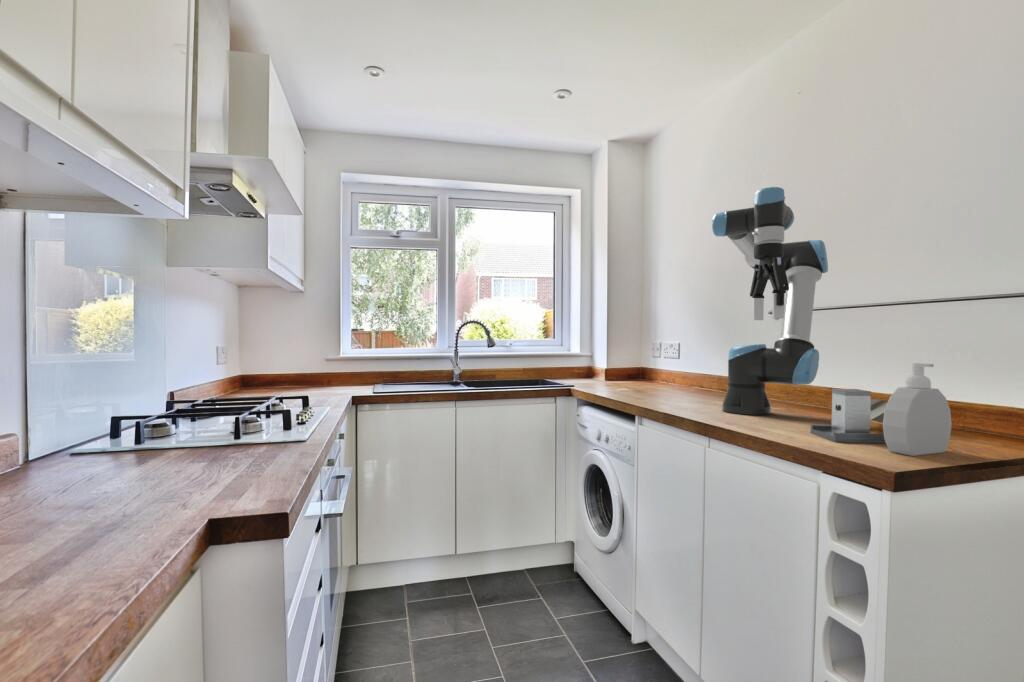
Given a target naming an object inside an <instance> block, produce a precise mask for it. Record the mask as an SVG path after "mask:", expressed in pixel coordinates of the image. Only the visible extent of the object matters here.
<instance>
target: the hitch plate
mask: <svg viewBox="0 0 1024 682" xmlns="http://www.w3.org/2000/svg"><path fill="white" fill-rule="evenodd" d="M810 434H813V435H815V436H818V437H821V438H824V439H825V440H828V441H832V442H834V443H849V444H850V443H856V444H857V443H859V444H886V442H885V439H884V431H883V423H881V422H877V421H873V420H870V433H839V432H834V431H832V424H810ZM886 445H887V444H886Z"/></svg>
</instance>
